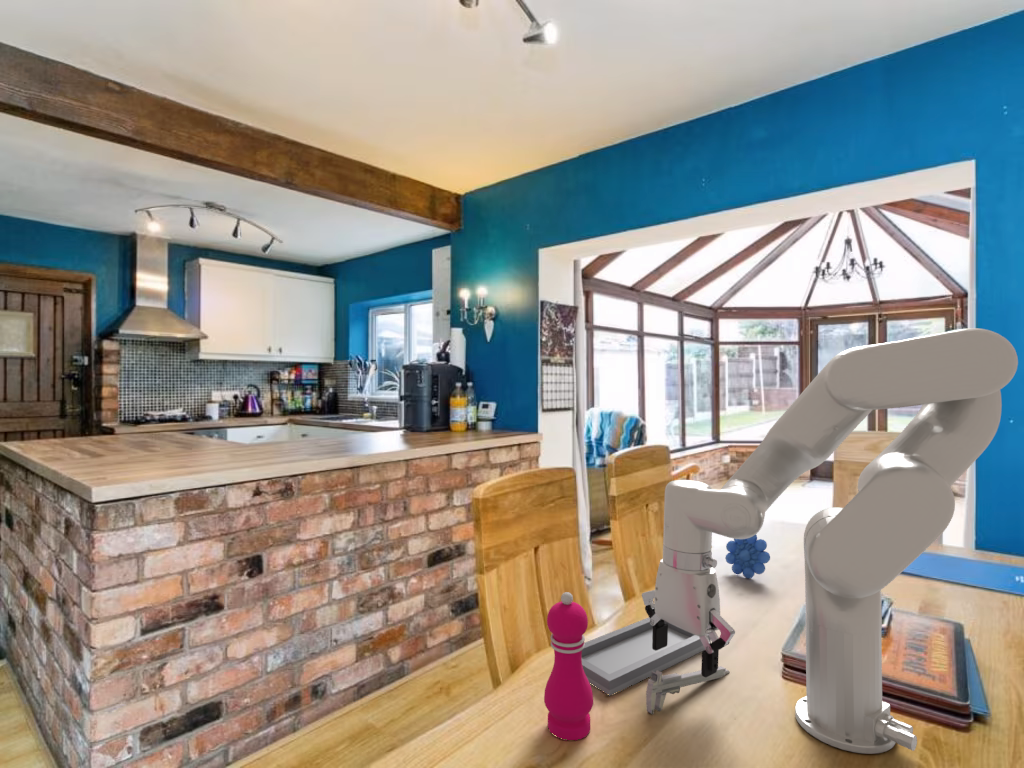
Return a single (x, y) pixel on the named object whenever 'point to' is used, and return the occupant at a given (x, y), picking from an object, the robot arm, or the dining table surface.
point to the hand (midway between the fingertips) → (683, 660)
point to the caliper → (673, 685)
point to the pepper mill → (568, 672)
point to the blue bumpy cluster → (747, 556)
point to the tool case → (634, 655)
